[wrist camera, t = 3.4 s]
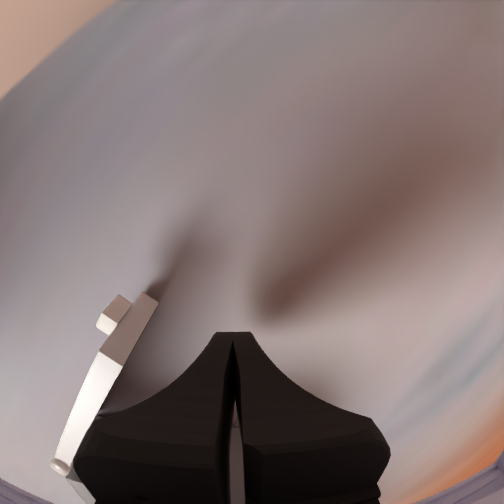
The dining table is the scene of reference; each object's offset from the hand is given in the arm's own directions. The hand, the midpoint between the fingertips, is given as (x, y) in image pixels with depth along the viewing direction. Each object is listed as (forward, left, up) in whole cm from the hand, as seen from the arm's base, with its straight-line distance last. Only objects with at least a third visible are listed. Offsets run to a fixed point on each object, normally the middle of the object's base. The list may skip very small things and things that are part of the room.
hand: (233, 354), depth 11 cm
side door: (-6, -2, -2) cm, 7 cm away
